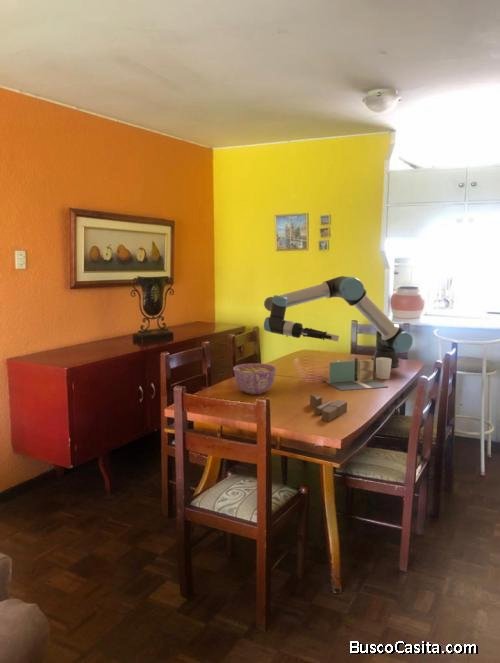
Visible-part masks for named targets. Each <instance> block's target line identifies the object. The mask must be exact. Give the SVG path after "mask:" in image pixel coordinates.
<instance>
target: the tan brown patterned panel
mask: <svg viewBox="0 0 500 663" xmlns="http://www.w3.org/2000/svg"><path fill="white" fill-rule="evenodd" d="M354 361H355V375H354V381H357V378H358V380H375V374H376V366H375V357H374V356H372V357H371V359H359V357H358V358H357V357H356V358H354Z"/></svg>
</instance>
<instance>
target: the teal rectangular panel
mask: <svg viewBox="0 0 500 663" xmlns="http://www.w3.org/2000/svg"><path fill="white" fill-rule="evenodd" d="M354 375H355V360H342V361H330V362H329V379H328V380H329V382H344V381H354Z"/></svg>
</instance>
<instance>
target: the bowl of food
mask: <svg viewBox="0 0 500 663" xmlns="http://www.w3.org/2000/svg"><path fill="white" fill-rule="evenodd" d="M232 369H233V373H234V377H235V382H236V385H237V387H238V388H239V390H241V391H243V392H245V393H246V392H247V393H250V394H249V395H253V394H257V395H261V394H264V393H265V392H267V391H269V390H270V389H271V388H272V386H273V384H274V380H275V376H276V372H277V367H276V366H274V365H272V364H266V363H242V364H238V365H234V367H233V368H232ZM247 393H246V394H247Z"/></svg>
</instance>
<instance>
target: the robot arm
mask: <svg viewBox="0 0 500 663" xmlns="http://www.w3.org/2000/svg"><path fill="white" fill-rule="evenodd" d="M367 293H368V292H367V289H366V288H365V286H364V284H363V283H362V281H361V280H360V279H358V278H357V277H354V276H343V275H342V276H338V277H334V278H331V279H328V280H325V281H323V282H322V283H320V284H316V285H314V286H313V285H312V286H309V287H306V288H305V287H304V288H302V289H298V290H295V291H291V292H286V293H284V294H279V295H277V294H276V295H273V296H269V297H267V298H265V300H264V303H263V307H264V309H265V310H267V311H268V312H270V315H269V316H268V317H265V319H264V321H263V329H264V331H266V332H268V333H271V334H278V335H282V336H285V337H292V338H296V339H299V338H301V336H302V337H304V338H305V337H306V338H312V339H318V340H319V339H320V340H322V341H325V340H329V341H334V342H339V339H340V335H338V334H337V335H336V334H332V333H328V331H322V330H318V329H314V328H311V327H305V328H304V327H303V324H302V323H301V322H294V321H290V320H285V315H286V312H287V311H286V310H287V309H288V308H291V307H295V306H298V305H302V304H306V303H309V302H312V301H316V300H321V299H323V298H326V299H330V298H339V299H340V298H341V299H343V301H345V302H346V303H347V304H348V305H349V306H350V307H355V308H356V309H357V310H358V311H359V312H360V313H361V315H362V316H364V318H365V319H366V320H367V321H368V322H369V323H370V324H371V325H372V326H373V327H374V328H375V329H376V332H375V333H376V335H375V352H374V354H373V357H375V367H376V358H380V357H384V358H390V359H392V361H391V368H397V367H400V360H399V356H398V353H400V354H401V353H402V354H404V353H406V352H409V350H411V348H412V346H413V342H414V338H413V336H412V334H411V333H409V332H408V331H405V330H404V329H403V328H402V327H401V326H400V325H399V323H394V322H393V321H392V320H390V319H389V317H388V316H387V315H386V314H385V313H384V312H383V311H382V309H380V308H379V306H377V305H376V303H375V302H374V301H373V300H372V299H371V298H370V297H369V296H368V295H367Z"/></svg>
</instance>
